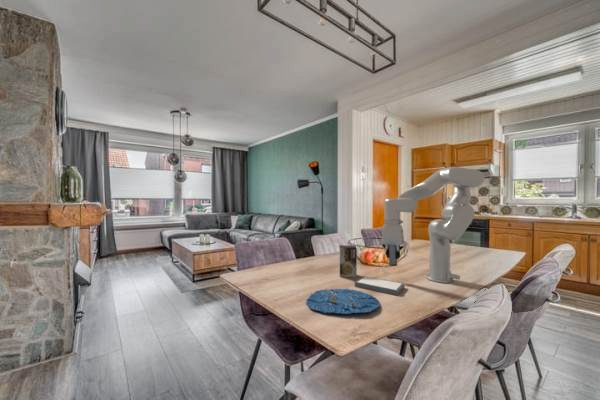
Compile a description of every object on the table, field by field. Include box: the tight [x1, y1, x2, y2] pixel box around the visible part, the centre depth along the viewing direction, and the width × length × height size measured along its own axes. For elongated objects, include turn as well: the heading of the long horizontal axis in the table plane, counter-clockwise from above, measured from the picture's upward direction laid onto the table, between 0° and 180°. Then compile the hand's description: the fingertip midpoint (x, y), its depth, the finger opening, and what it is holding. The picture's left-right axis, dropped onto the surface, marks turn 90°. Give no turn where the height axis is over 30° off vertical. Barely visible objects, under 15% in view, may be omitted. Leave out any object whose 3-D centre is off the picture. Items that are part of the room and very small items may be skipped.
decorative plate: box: [305, 288, 381, 316], centre depth 105 cm, size 30×30×5 cm
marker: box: [388, 244, 398, 267], centre depth 133 cm, size 4×4×14 cm
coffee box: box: [338, 244, 358, 278], centre depth 141 cm, size 9×6×16 cm
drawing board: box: [354, 275, 405, 296], centre depth 123 cm, size 20×12×2 cm, turn 55°
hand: (392, 257), depth 133 cm, fingers closed on marker, 4 cm apart
